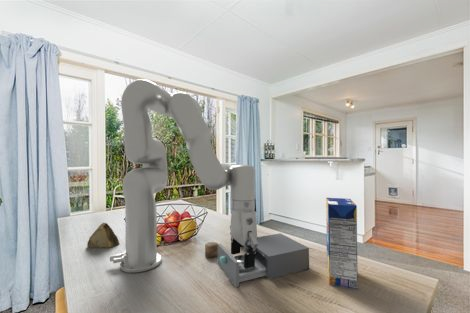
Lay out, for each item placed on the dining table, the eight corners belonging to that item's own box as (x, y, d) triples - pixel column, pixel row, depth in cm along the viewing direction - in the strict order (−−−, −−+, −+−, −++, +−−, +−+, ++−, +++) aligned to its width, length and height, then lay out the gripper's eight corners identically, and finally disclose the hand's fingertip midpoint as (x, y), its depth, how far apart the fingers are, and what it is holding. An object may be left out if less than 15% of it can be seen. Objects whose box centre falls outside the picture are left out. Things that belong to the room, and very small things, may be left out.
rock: (77, 243, 85) (92, 244, 80) (90, 222, 90) (105, 221, 85) (101, 252, 92) (116, 253, 87) (111, 232, 97) (126, 232, 92)
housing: (268, 279, 63) (268, 256, 63) (245, 257, 77) (245, 239, 77) (309, 268, 69) (308, 247, 69) (280, 250, 82) (280, 233, 83)
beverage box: (329, 285, 60) (328, 204, 60) (326, 266, 70) (326, 197, 70) (357, 290, 58) (356, 205, 58) (350, 270, 68) (350, 198, 68)
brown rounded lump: (207, 259, 75) (207, 248, 75) (203, 254, 80) (203, 243, 80) (219, 257, 77) (219, 245, 77) (215, 252, 81) (215, 241, 81)
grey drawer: (230, 288, 58) (230, 264, 58) (213, 264, 72) (213, 244, 72) (281, 275, 65) (281, 253, 65) (257, 255, 78) (257, 237, 78)
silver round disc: (258, 269, 66) (258, 262, 66) (237, 274, 63) (237, 267, 63) (247, 259, 73) (247, 253, 73) (228, 263, 70) (228, 257, 70)
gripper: (267, 209, 62) (267, 270, 62) (241, 199, 78) (241, 247, 77) (243, 211, 59) (243, 276, 59) (221, 200, 75) (221, 251, 74)
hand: (242, 259), depth 68 cm, fingers open, 9 cm apart
